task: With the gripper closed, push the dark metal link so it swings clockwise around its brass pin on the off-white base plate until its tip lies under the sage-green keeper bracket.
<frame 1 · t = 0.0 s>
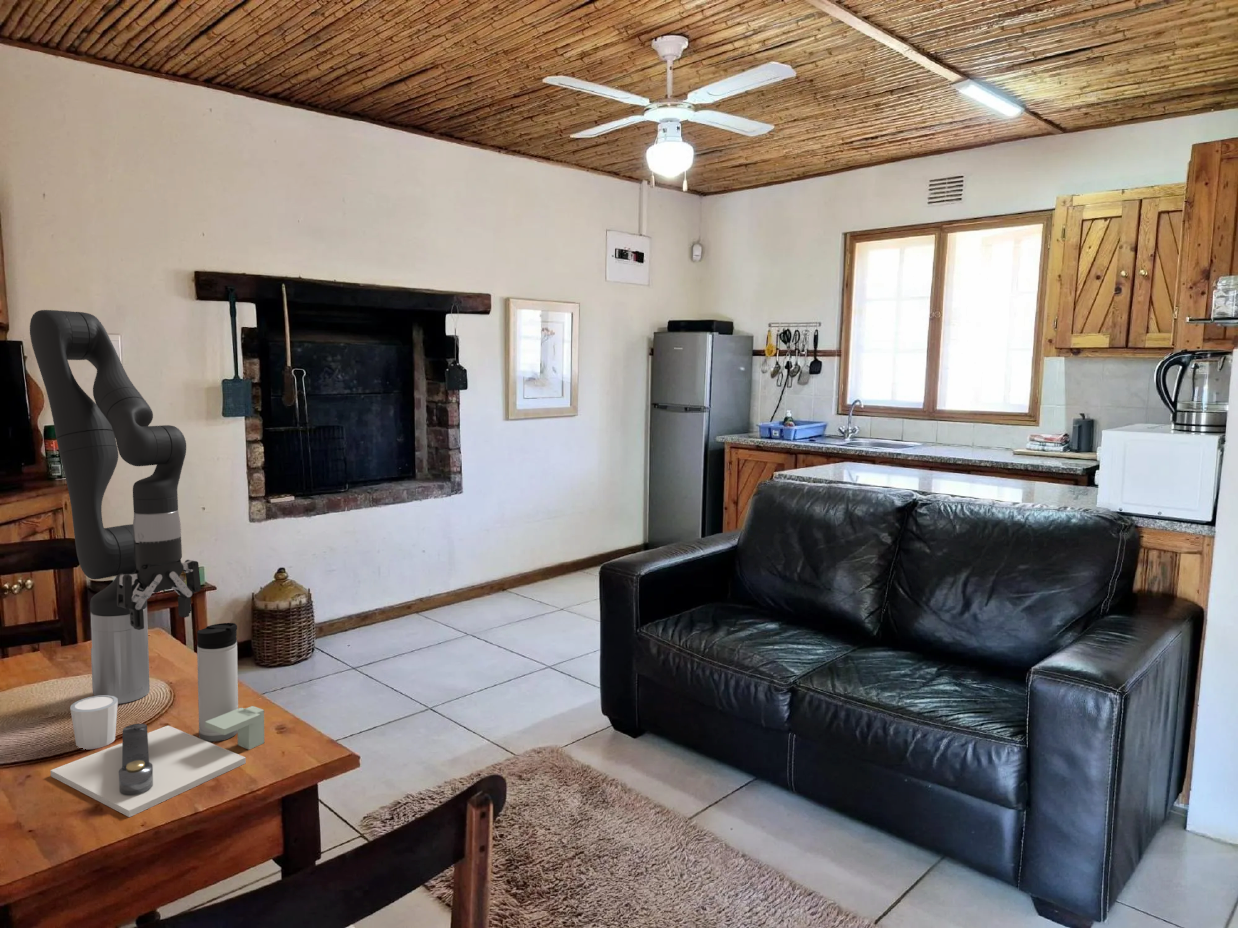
hand: (161, 622, 148), 17 cm above the table, tool pointing down, fingers open, 8 cm apart
link: (135, 754, 128), point 3 cm above the table, hinge at 60.0°
base plate: (150, 769, 130), on the table
travel mug: (219, 735, 143), on the table
keeper: (251, 743, 140), on the table
white cup: (95, 742, 138), on the table
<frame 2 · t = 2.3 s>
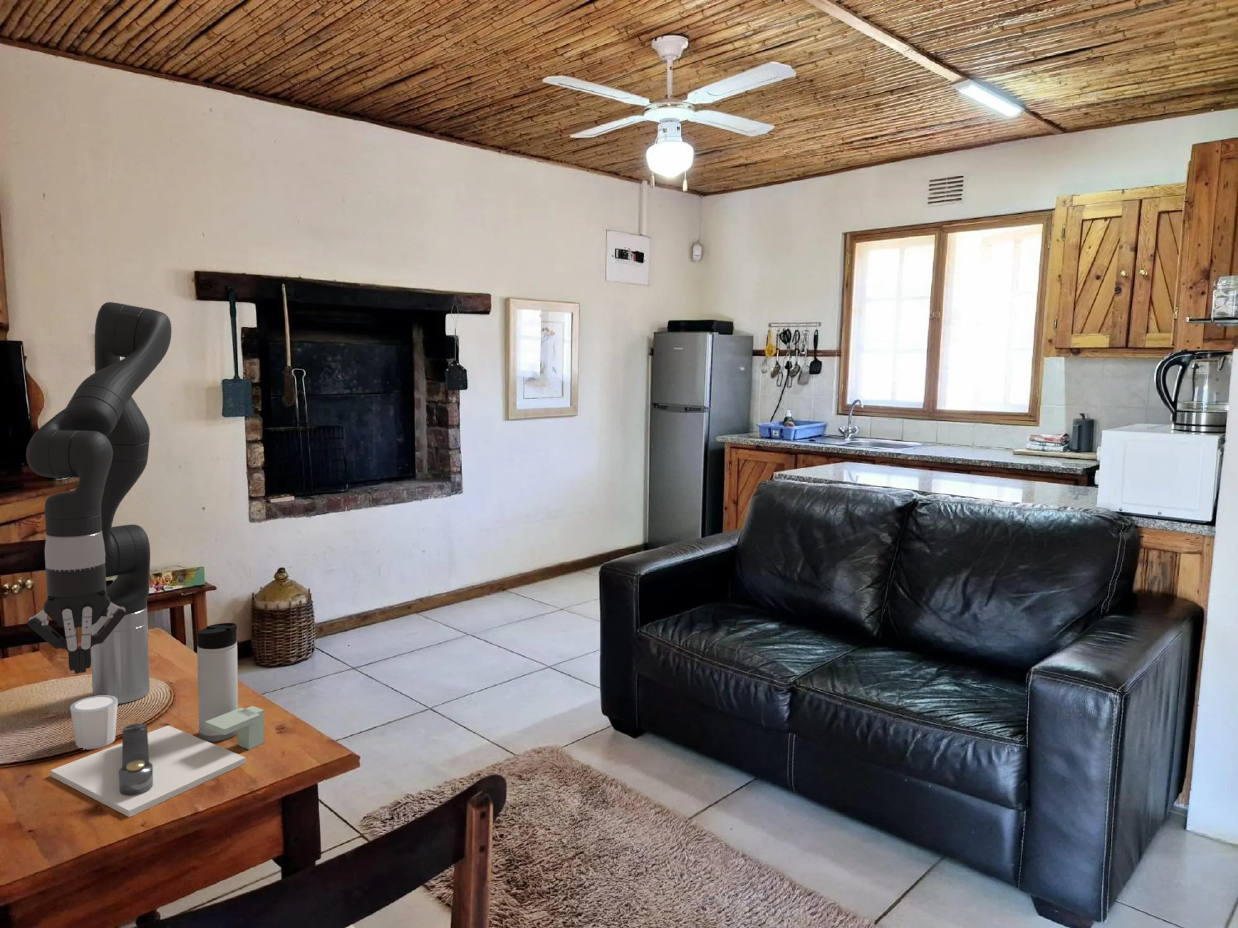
hand: (80, 671, 124), 17 cm above the table, tool pointing down, fingers closed
nothing on the table moved.
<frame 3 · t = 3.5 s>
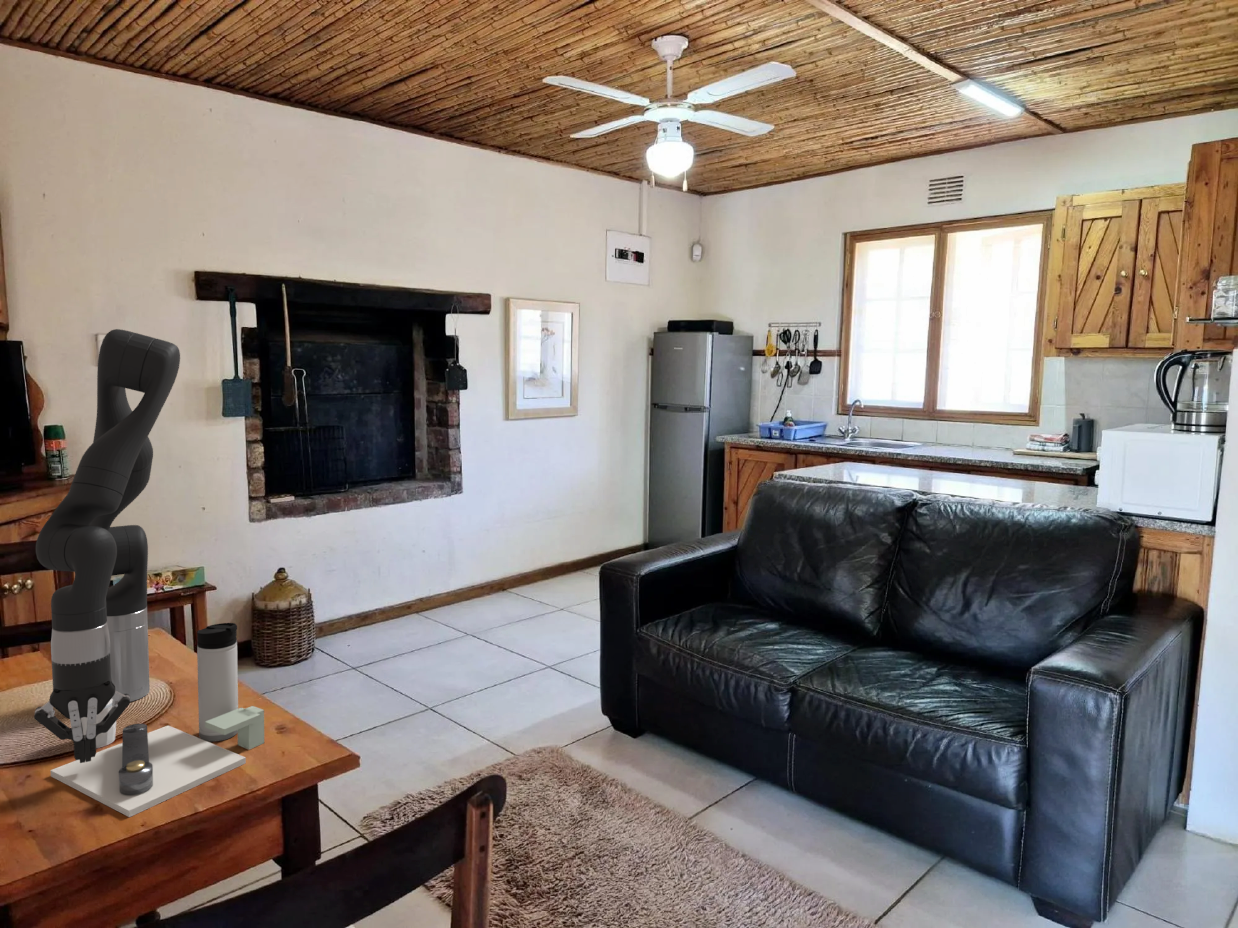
hand: (85, 759, 126), 3 cm above the table, tool pointing down, fingers closed
nothing on the table moved.
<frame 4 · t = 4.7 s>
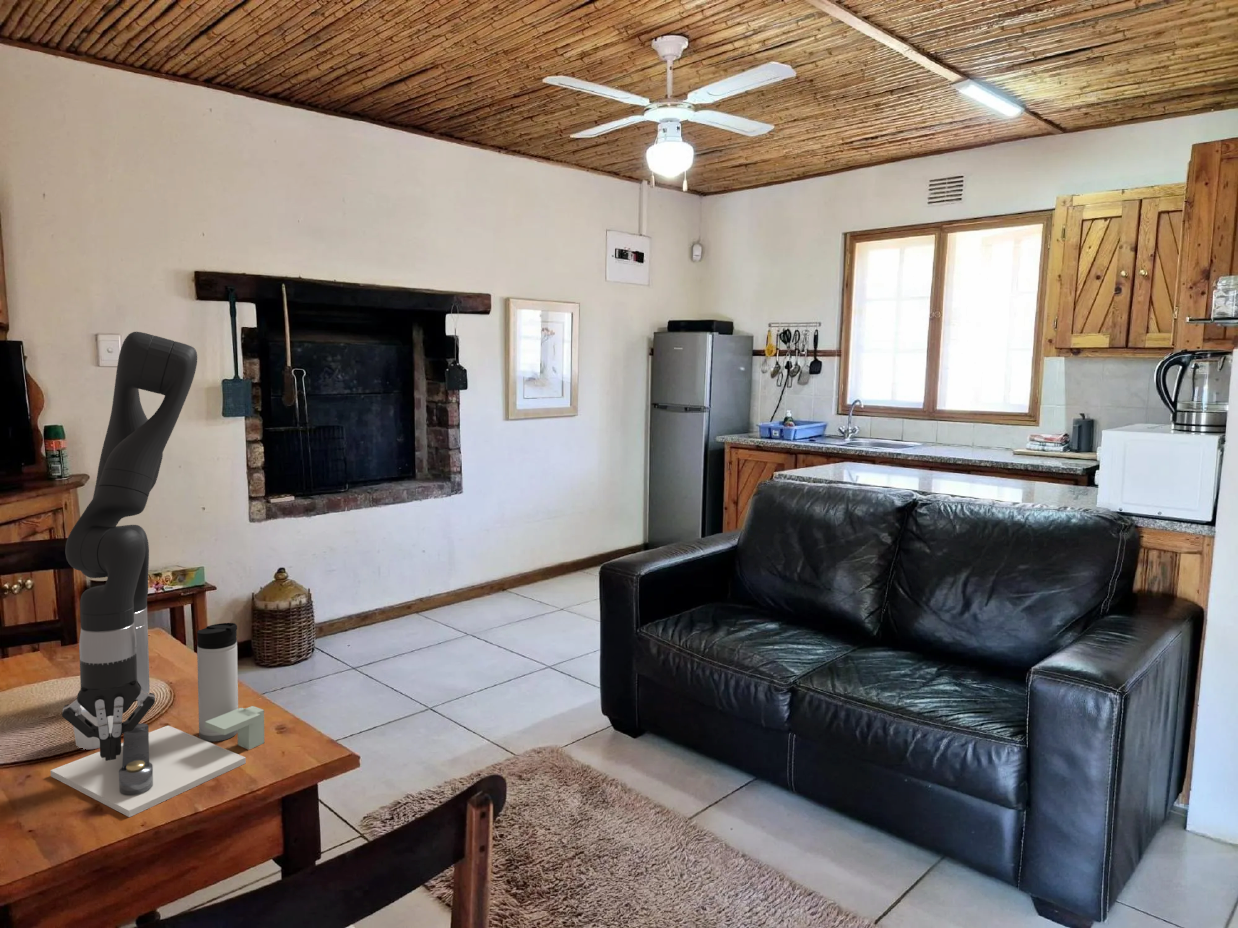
hand: (111, 757, 128), 3 cm above the table, tool pointing down, fingers closed
link: (136, 754, 128), point 3 cm above the table, hinge at 59.3°, touching gripper
everything else where it was.
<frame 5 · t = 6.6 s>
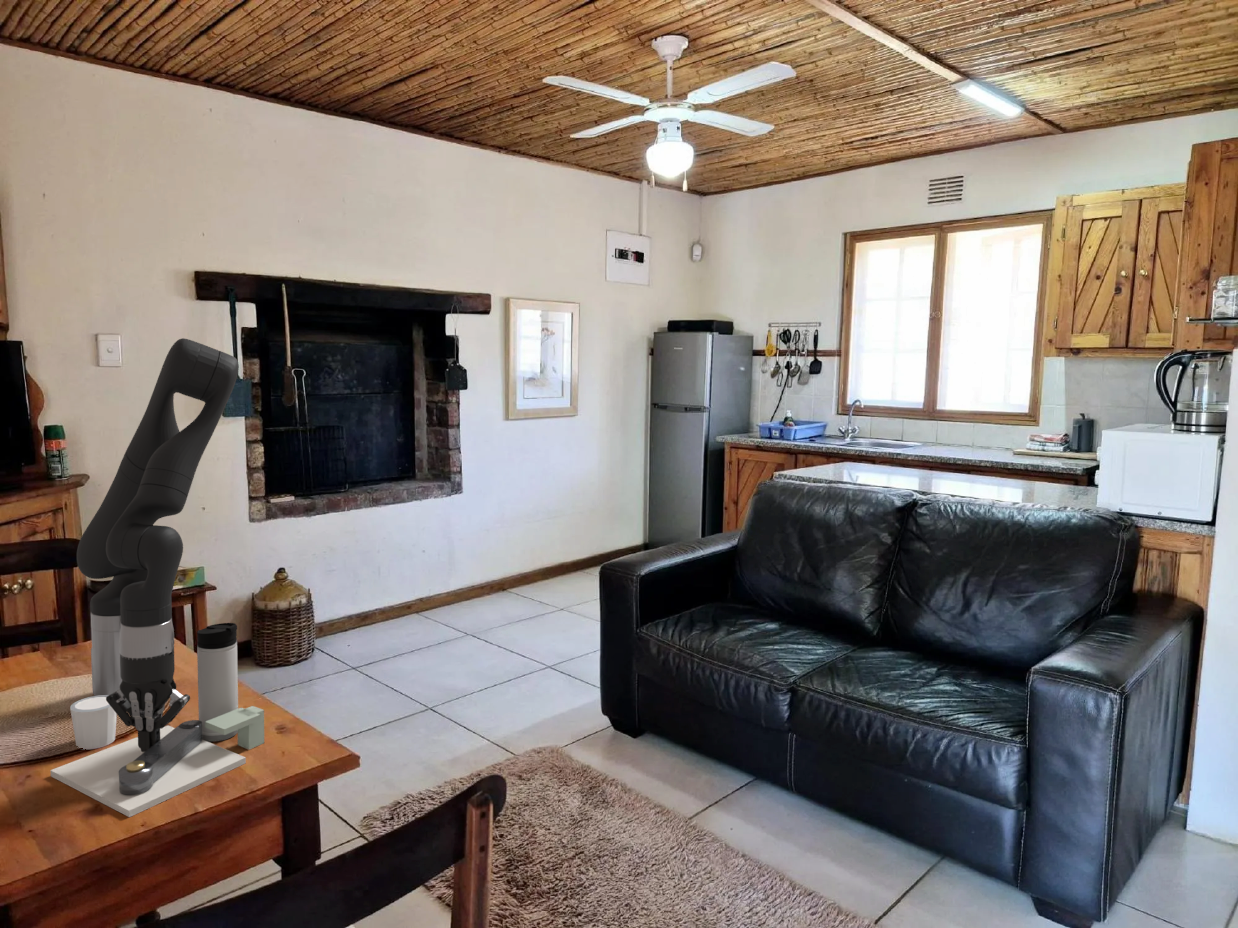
hand: (149, 749, 131), 3 cm above the table, tool pointing down, fingers closed
link: (164, 752, 129), point 3 cm above the table, hinge at 27.3°, touching gripper
everything else where it was.
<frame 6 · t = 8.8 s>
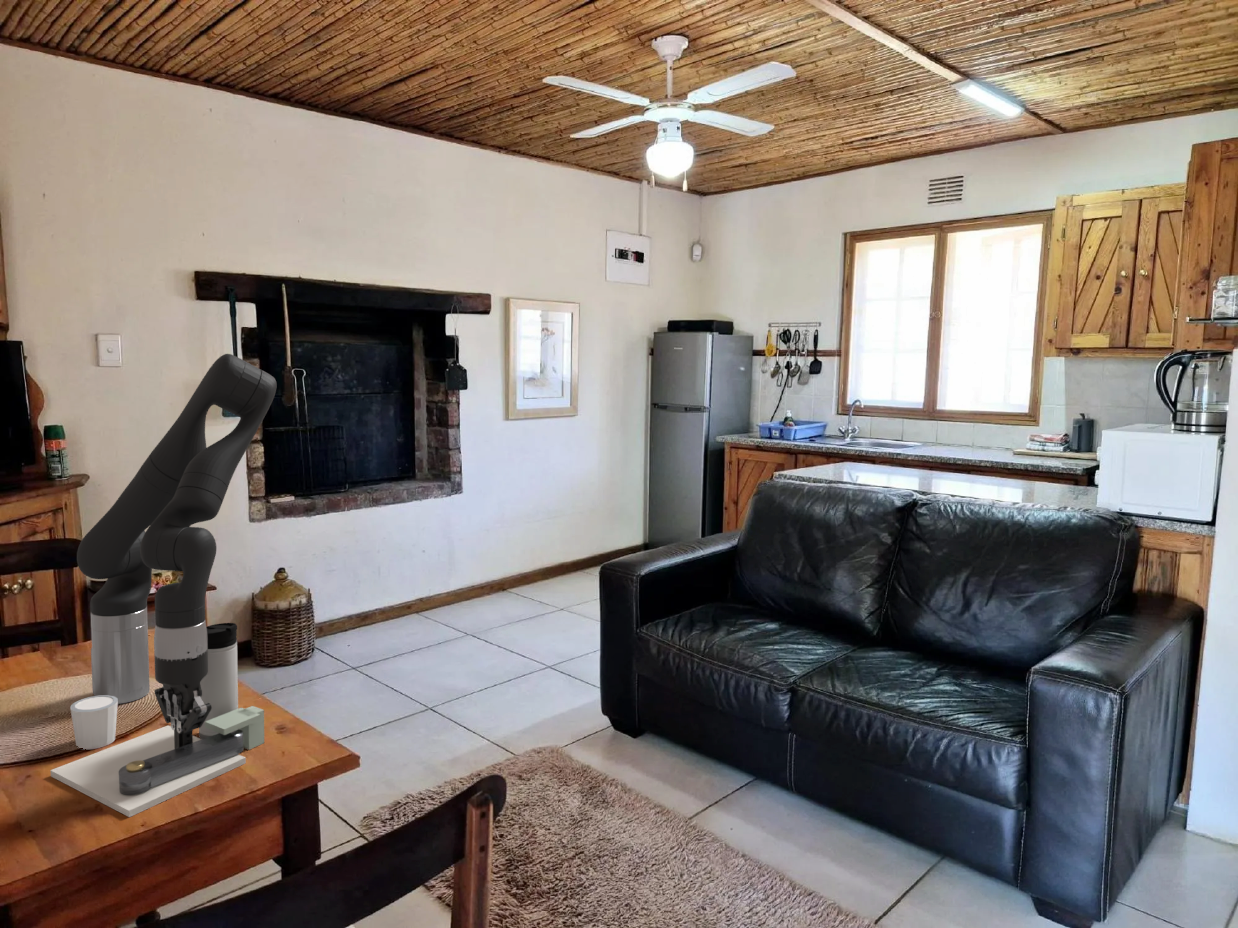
hand: (183, 750, 132), 2 cm above the table, tool pointing down, fingers closed
link: (184, 757, 128), point 3 cm above the table, hinge at -6.2°, touching gripper
everything else where it was.
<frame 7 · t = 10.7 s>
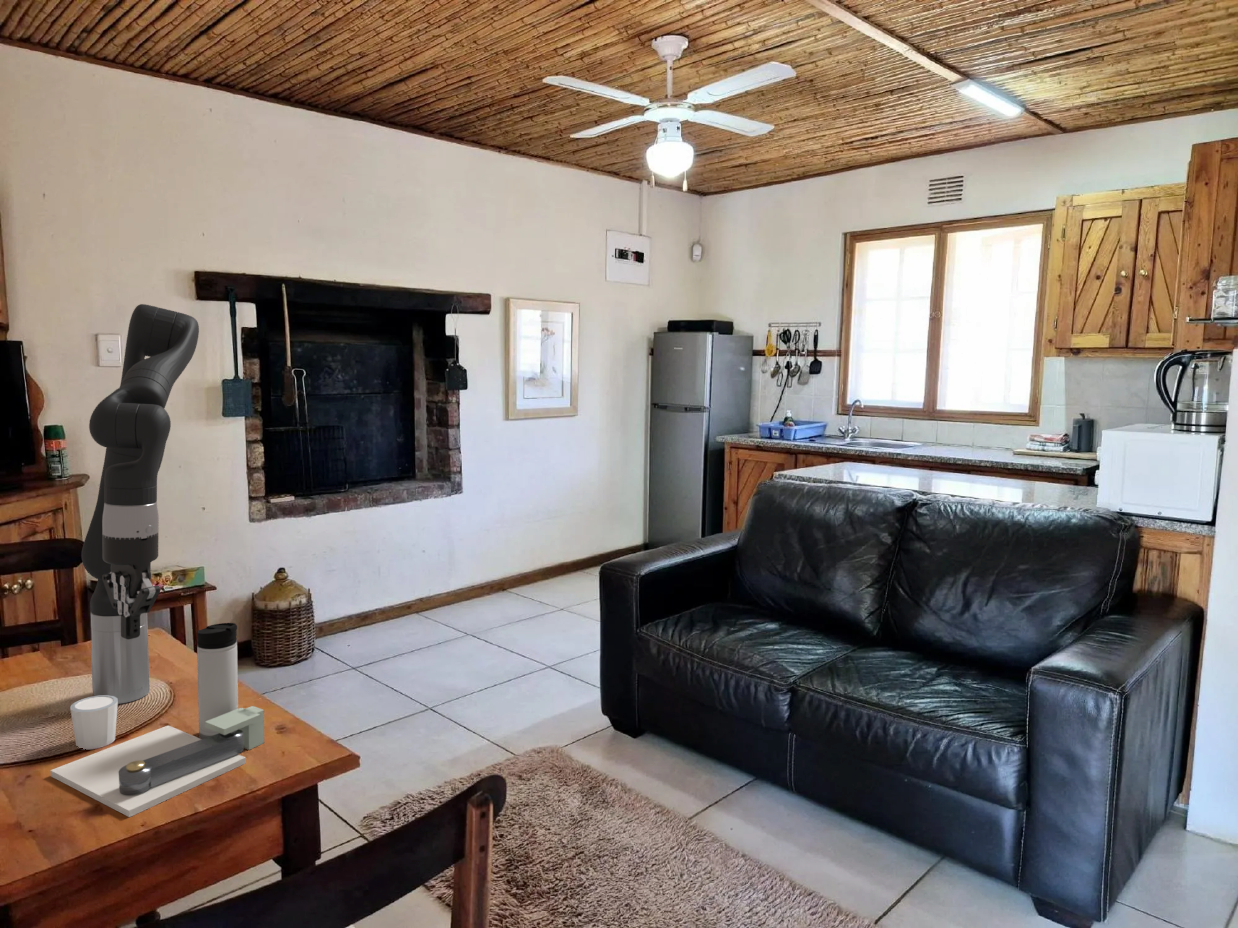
hand: (130, 637, 128), 22 cm above the table, tool pointing down, fingers closed
link: (184, 757, 128), point 3 cm above the table, hinge at -6.2°
everything else where it was.
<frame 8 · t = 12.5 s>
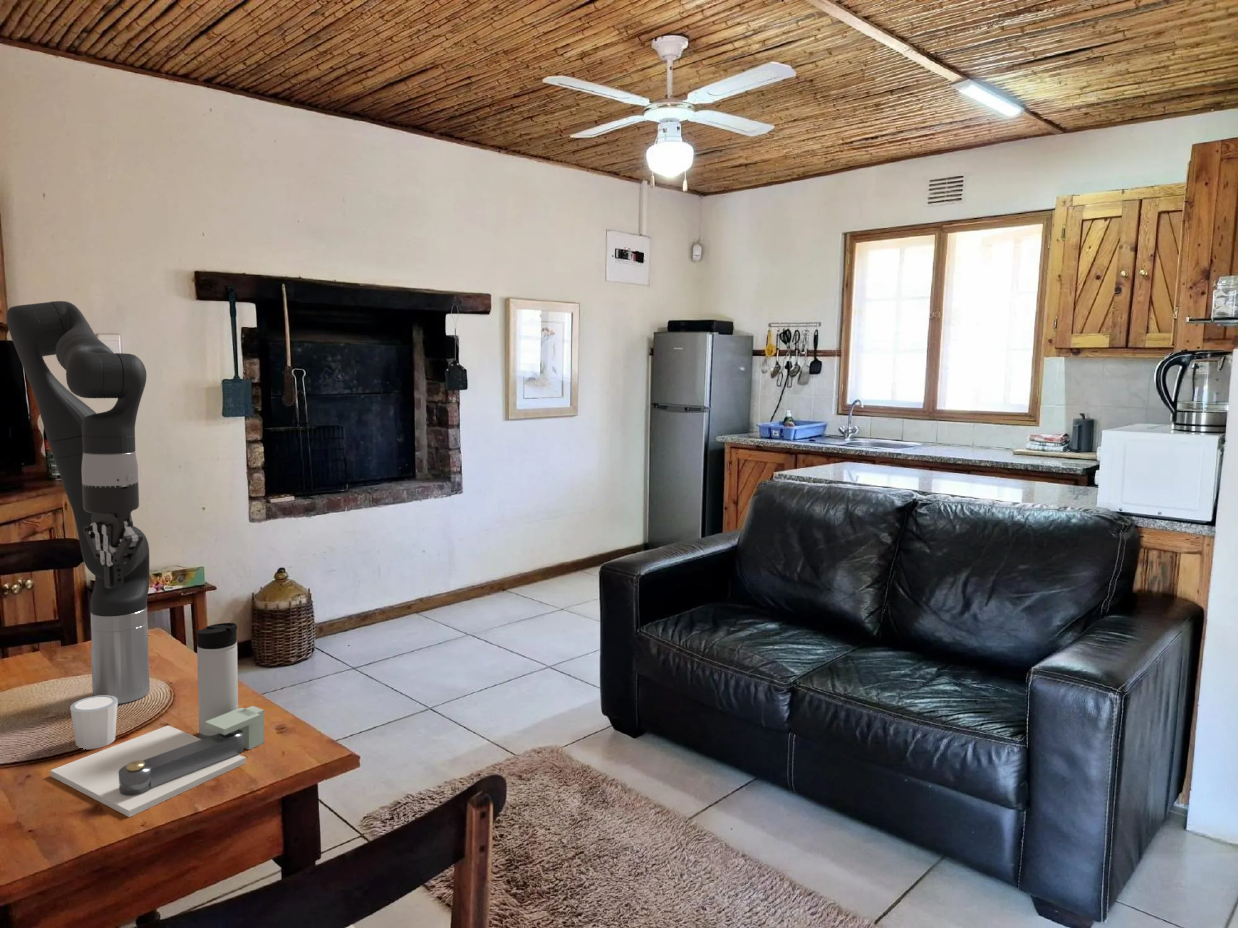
hand: (114, 587, 130), 29 cm above the table, tool pointing down, fingers closed
nothing on the table moved.
at the end: link at -6° (first picture: +60°); travel mug moved 0.2 cm from its start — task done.
